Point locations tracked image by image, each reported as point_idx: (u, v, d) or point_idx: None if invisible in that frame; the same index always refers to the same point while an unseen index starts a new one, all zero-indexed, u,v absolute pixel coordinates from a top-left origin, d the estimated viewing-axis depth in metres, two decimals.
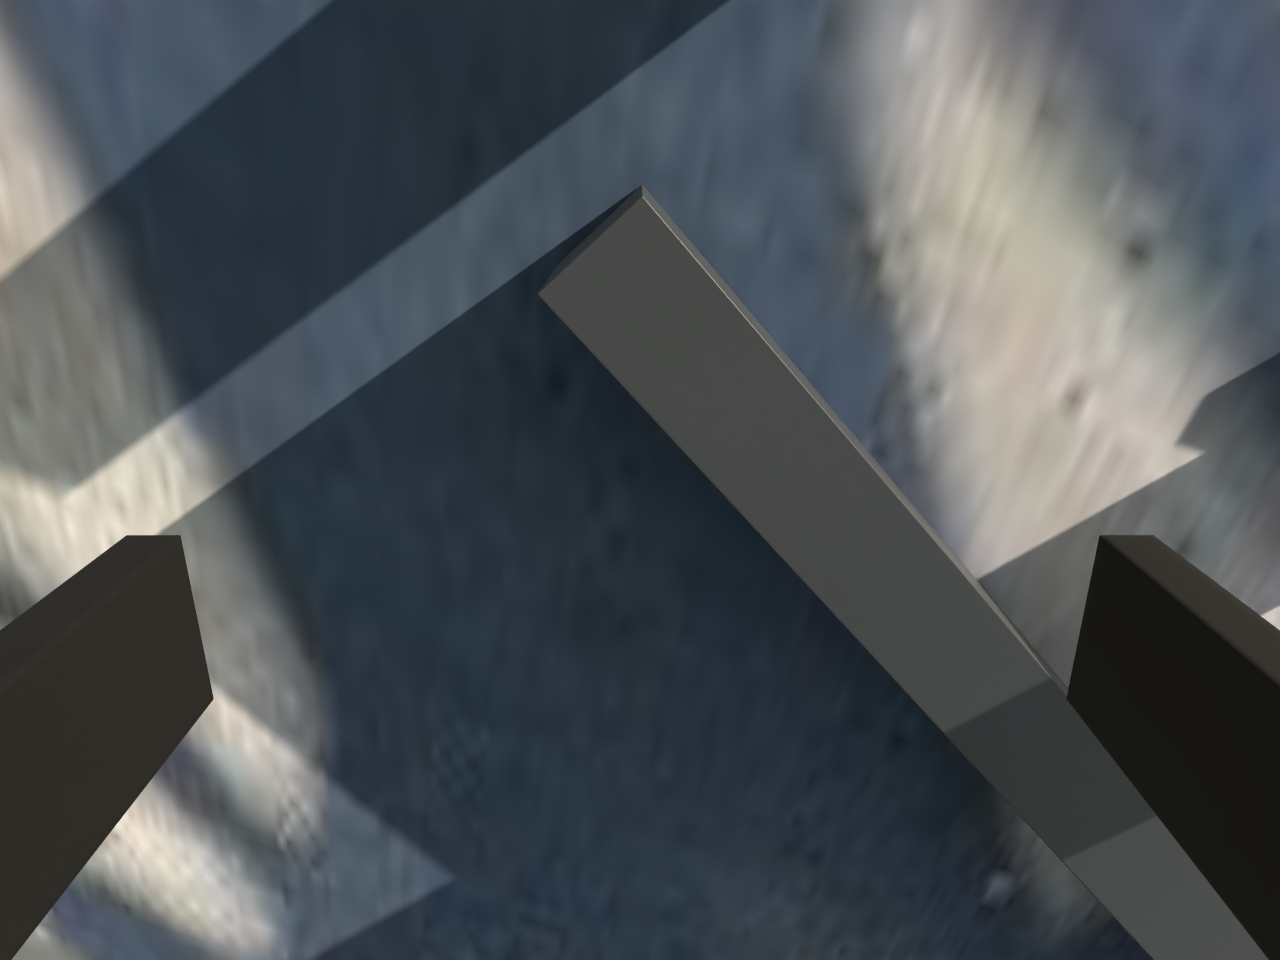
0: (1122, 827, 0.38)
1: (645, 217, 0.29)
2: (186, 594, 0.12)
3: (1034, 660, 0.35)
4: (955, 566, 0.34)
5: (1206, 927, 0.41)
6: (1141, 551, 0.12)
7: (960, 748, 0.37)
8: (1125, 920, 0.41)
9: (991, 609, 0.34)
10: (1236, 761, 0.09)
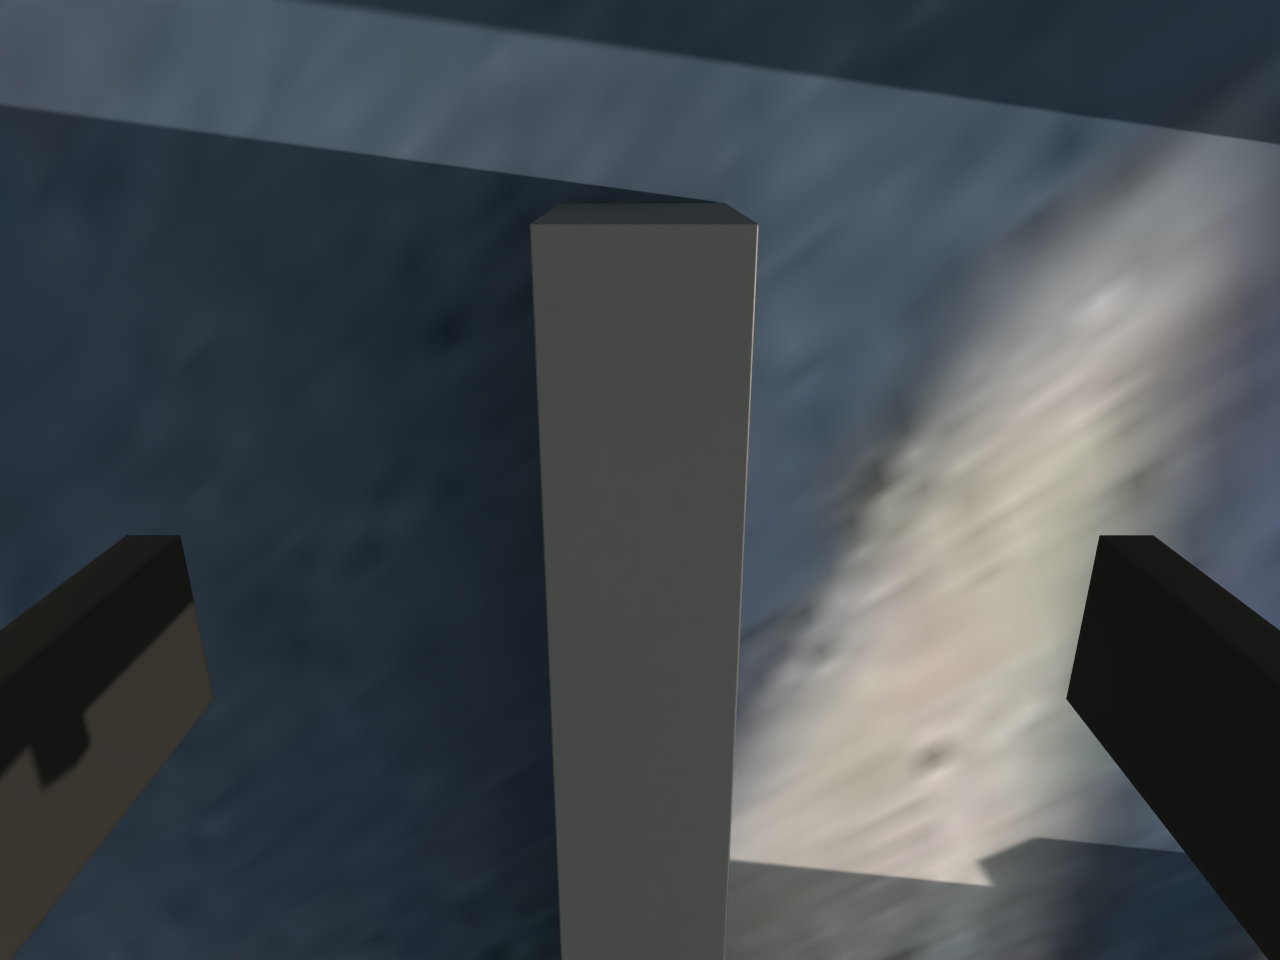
0: None
1: (739, 251, 0.19)
2: (186, 594, 0.12)
3: None
4: (726, 889, 0.25)
5: None
6: (1141, 551, 0.12)
7: None
8: None
9: (723, 955, 0.26)
10: (1236, 761, 0.09)
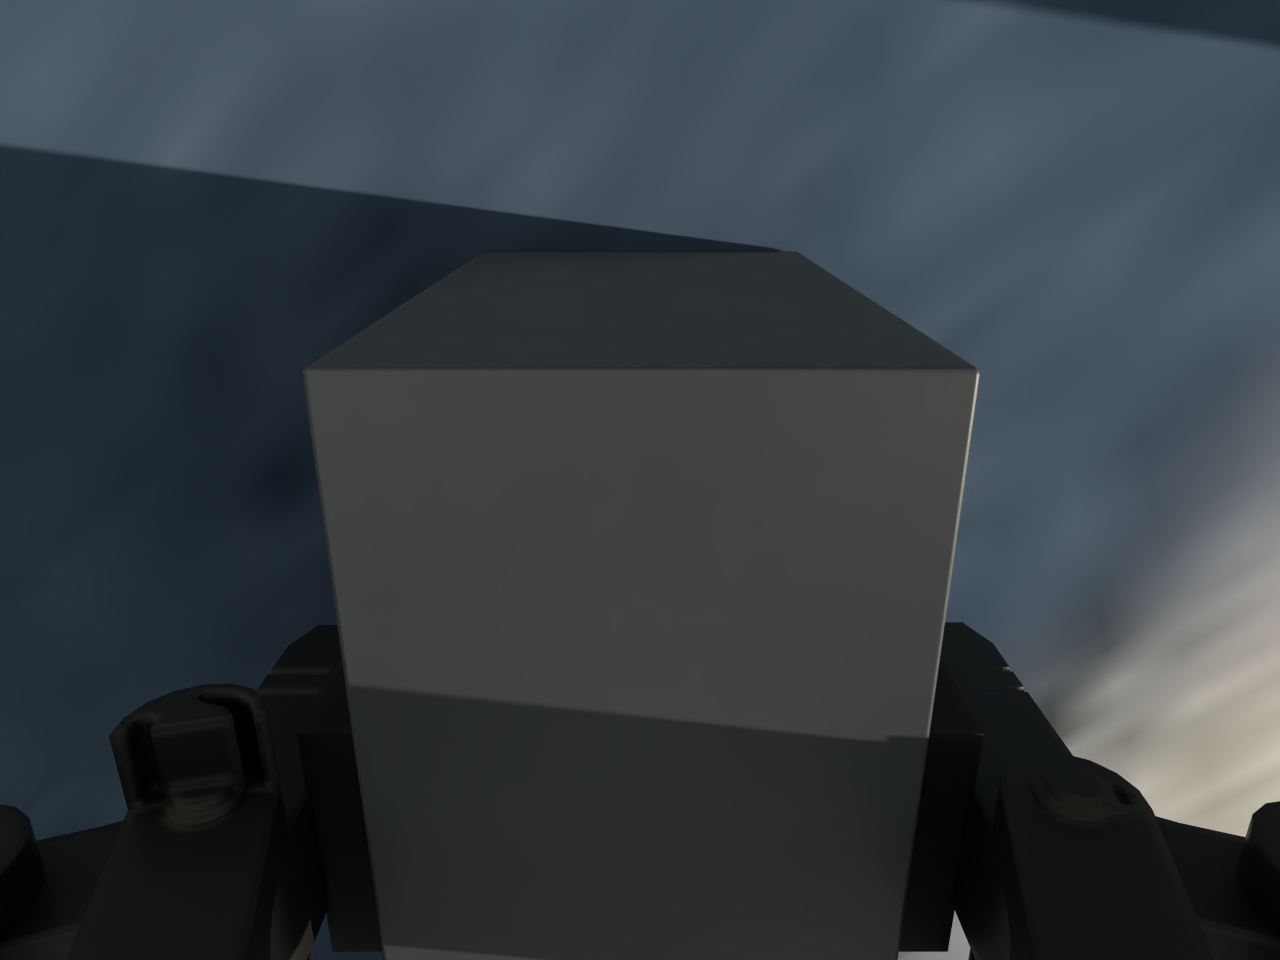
0: None
1: (918, 445, 0.06)
2: None
3: None
4: None
5: None
6: None
7: None
8: None
9: None
10: None
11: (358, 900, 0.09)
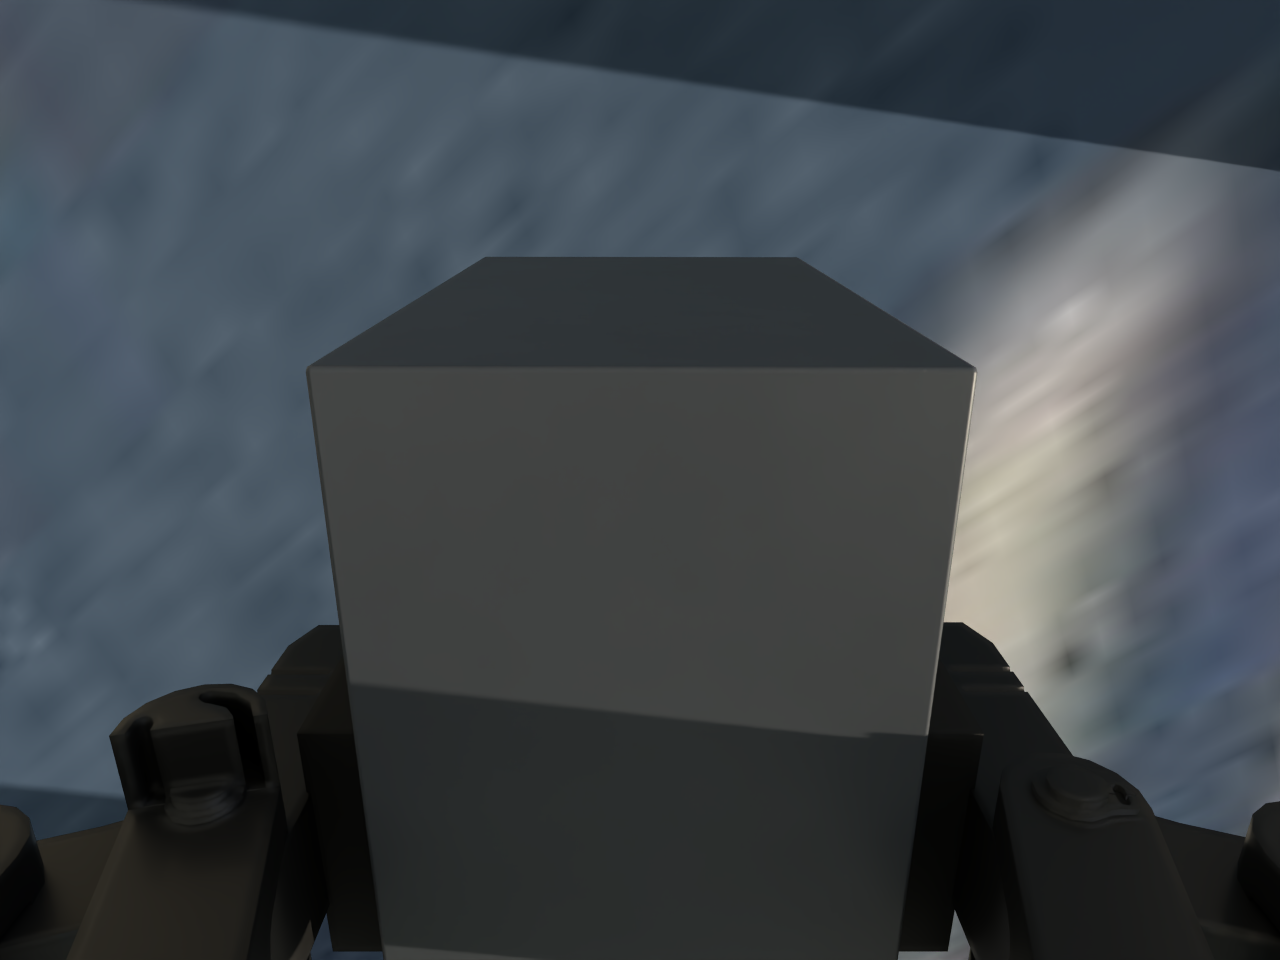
0: None
1: (916, 443, 0.06)
2: None
3: None
4: None
5: None
6: None
7: None
8: None
9: None
10: None
11: (358, 900, 0.09)
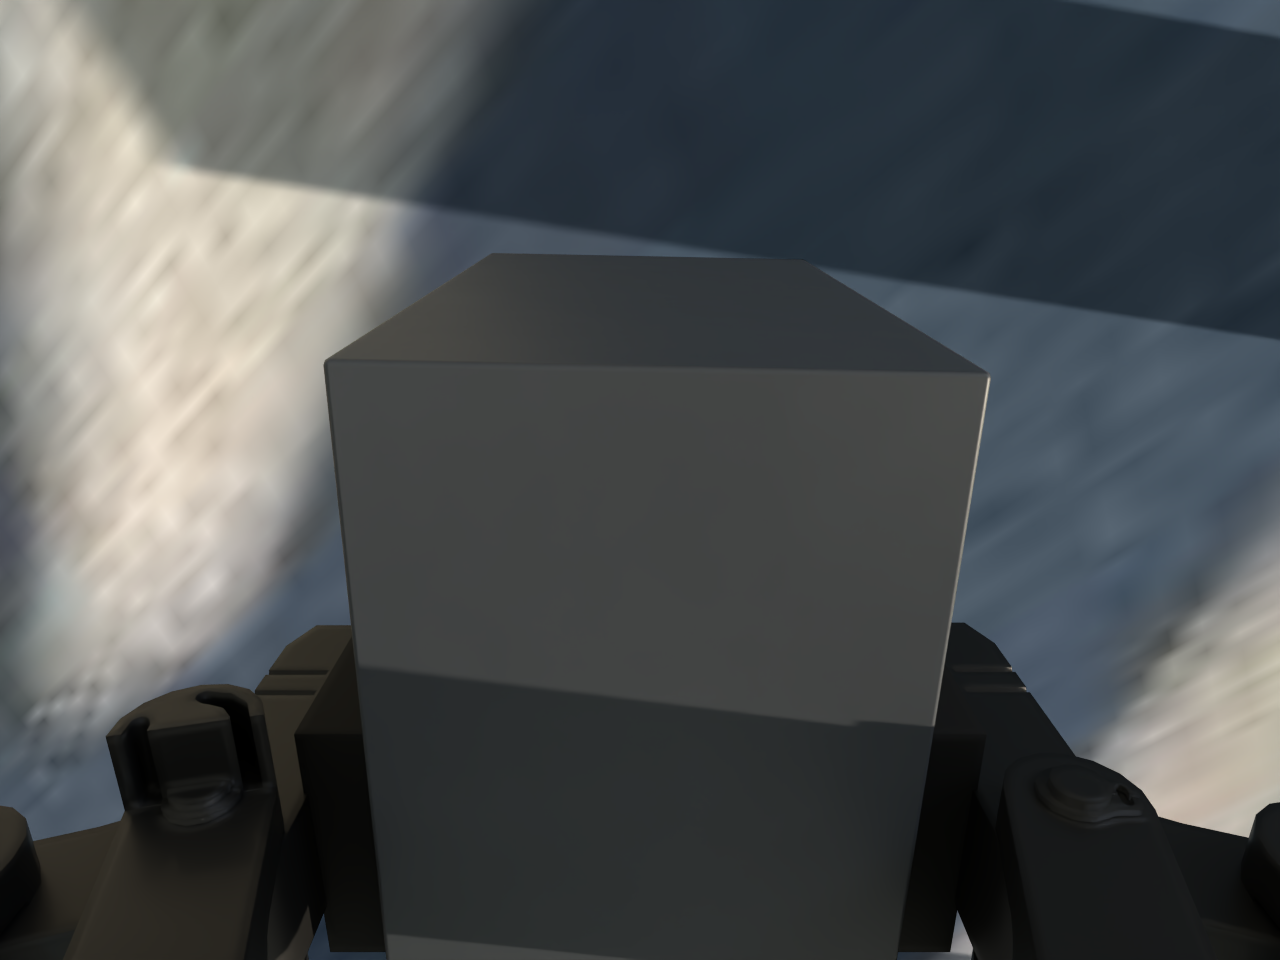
0: None
1: (928, 446, 0.07)
2: None
3: None
4: None
5: None
6: None
7: None
8: None
9: None
10: None
11: (355, 900, 0.09)
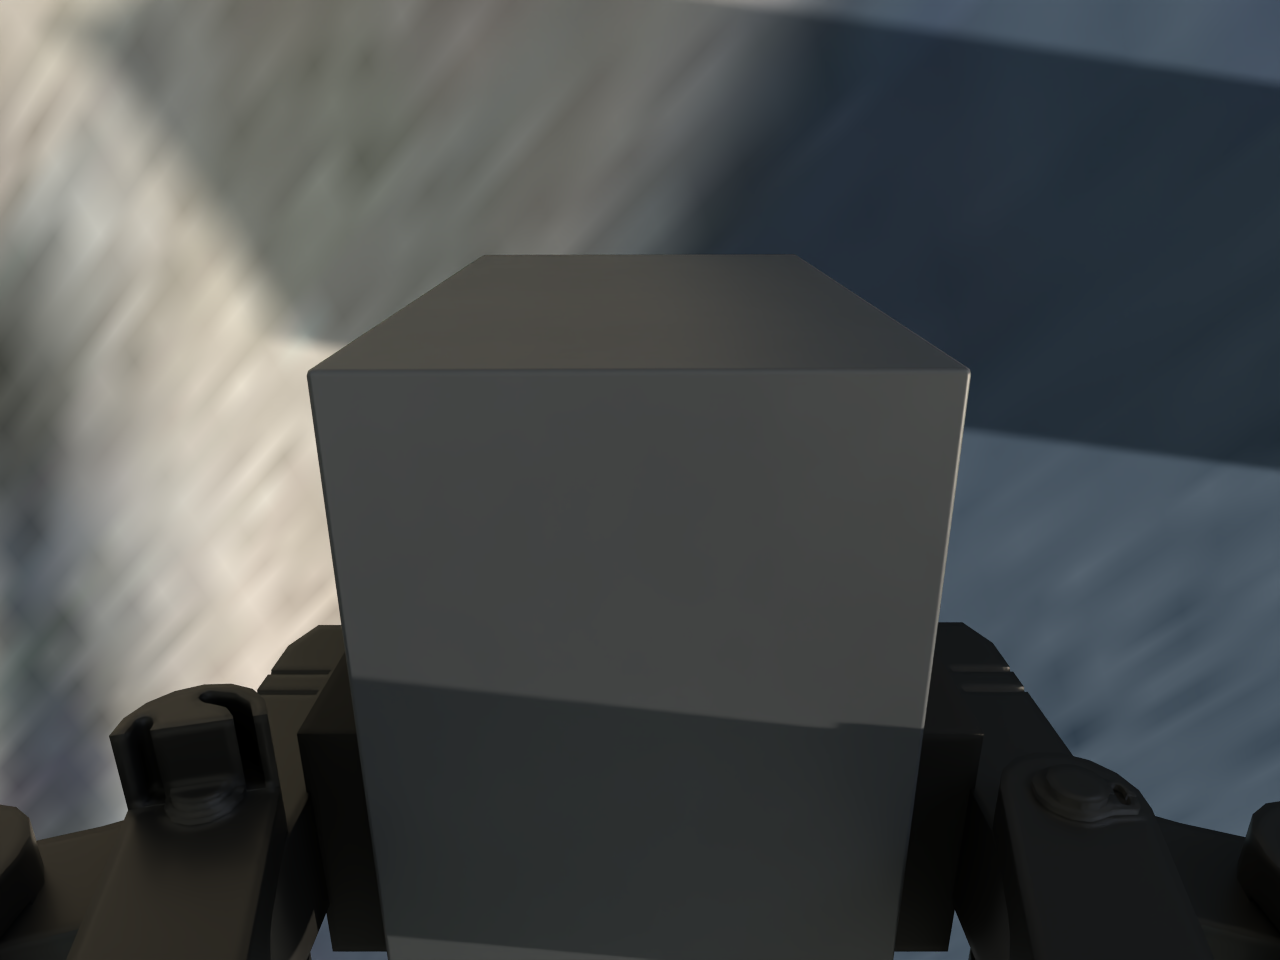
0: None
1: (910, 443, 0.07)
2: None
3: None
4: None
5: None
6: None
7: None
8: None
9: None
10: None
11: (358, 900, 0.09)
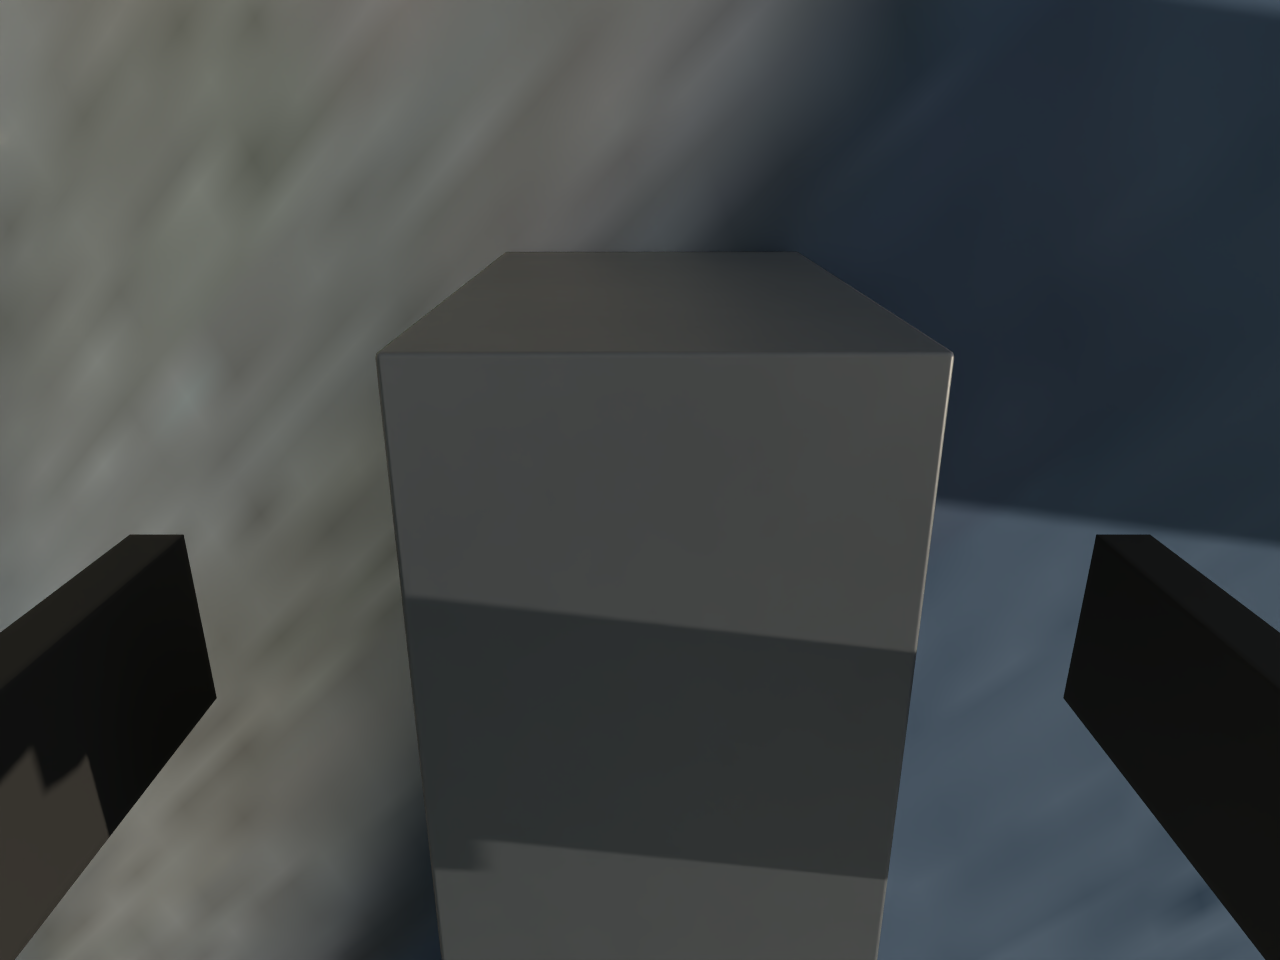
0: None
1: (901, 418, 0.07)
2: (189, 594, 0.12)
3: None
4: None
5: None
6: (1138, 550, 0.12)
7: None
8: None
9: None
10: (1231, 759, 0.09)
11: None
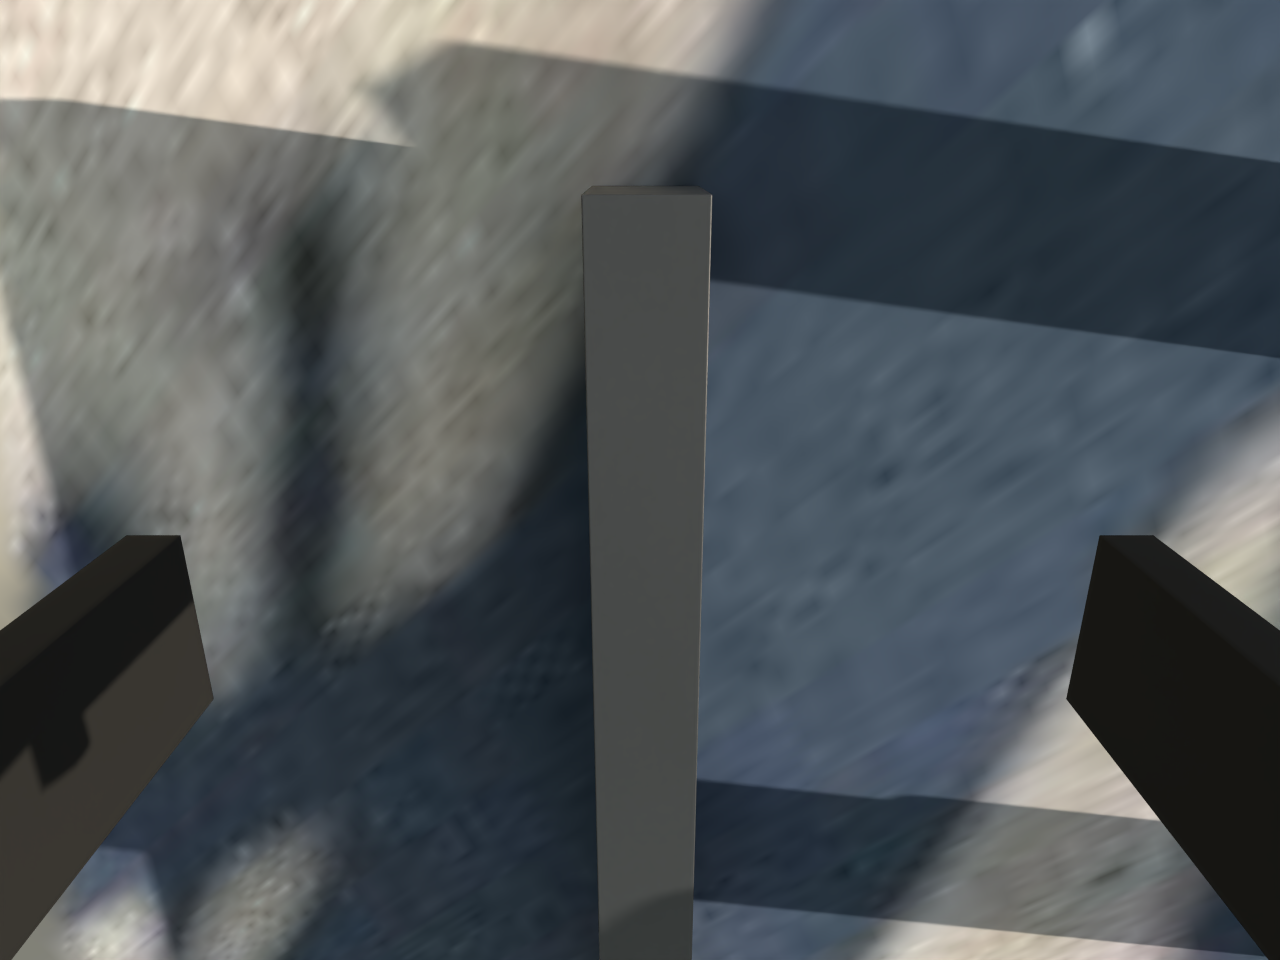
0: (657, 894, 0.44)
1: (701, 210, 0.33)
2: (186, 594, 0.12)
3: (696, 731, 0.41)
4: (699, 625, 0.39)
5: None
6: (1141, 551, 0.12)
7: (596, 760, 0.42)
8: None
9: (698, 673, 0.40)
10: (1236, 761, 0.09)
11: None
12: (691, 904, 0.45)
